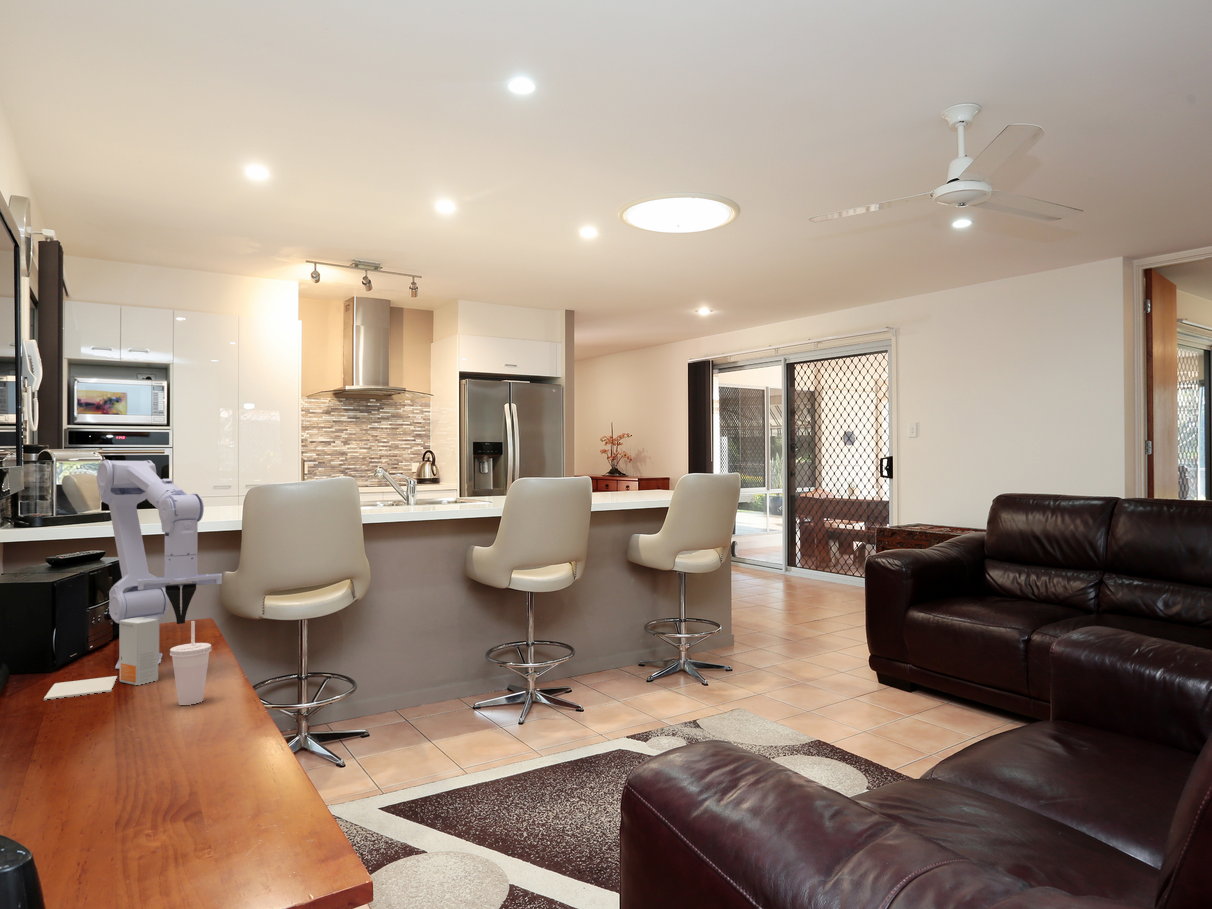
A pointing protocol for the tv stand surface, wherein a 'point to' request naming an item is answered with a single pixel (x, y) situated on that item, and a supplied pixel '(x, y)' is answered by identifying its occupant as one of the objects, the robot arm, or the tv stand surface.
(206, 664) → the smoothie
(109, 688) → the felt mat
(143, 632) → the skincare box
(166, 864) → the tv stand surface
